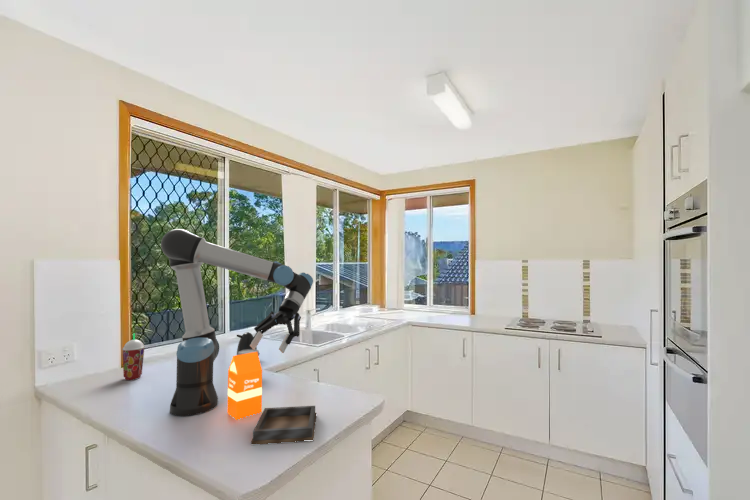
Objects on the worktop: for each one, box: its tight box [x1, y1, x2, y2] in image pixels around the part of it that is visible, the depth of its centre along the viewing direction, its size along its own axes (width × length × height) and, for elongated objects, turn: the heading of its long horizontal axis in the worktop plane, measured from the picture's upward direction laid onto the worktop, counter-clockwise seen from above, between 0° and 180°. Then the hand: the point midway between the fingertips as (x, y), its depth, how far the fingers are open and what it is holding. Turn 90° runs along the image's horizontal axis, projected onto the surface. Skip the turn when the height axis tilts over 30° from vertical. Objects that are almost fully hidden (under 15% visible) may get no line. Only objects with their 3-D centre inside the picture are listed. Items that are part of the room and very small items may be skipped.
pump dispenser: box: [236, 331, 258, 355], centre depth 185 cm, size 10×10×15 cm
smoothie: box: [121, 333, 146, 381], centre depth 157 cm, size 8×8×20 cm
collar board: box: [250, 405, 317, 445], centre depth 107 cm, size 17×17×4 cm
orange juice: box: [226, 352, 263, 421], centre depth 119 cm, size 8×9×20 cm
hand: (266, 349), depth 129 cm, fingers open, 13 cm apart
